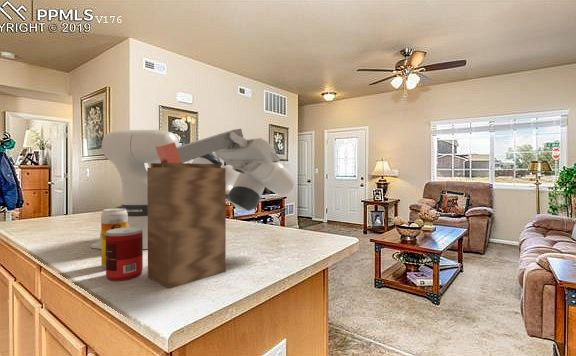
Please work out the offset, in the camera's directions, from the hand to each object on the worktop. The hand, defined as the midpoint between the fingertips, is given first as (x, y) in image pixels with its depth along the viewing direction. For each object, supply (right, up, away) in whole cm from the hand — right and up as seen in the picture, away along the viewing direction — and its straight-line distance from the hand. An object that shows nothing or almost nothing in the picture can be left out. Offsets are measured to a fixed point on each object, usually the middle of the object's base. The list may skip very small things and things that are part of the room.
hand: (224, 135), depth 82 cm
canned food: (-22, -35, -8) cm, 42 cm away
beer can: (-29, -35, -1) cm, 45 cm away
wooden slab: (-7, -35, -7) cm, 36 cm away
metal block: (-4, -5, -4) cm, 7 cm away
